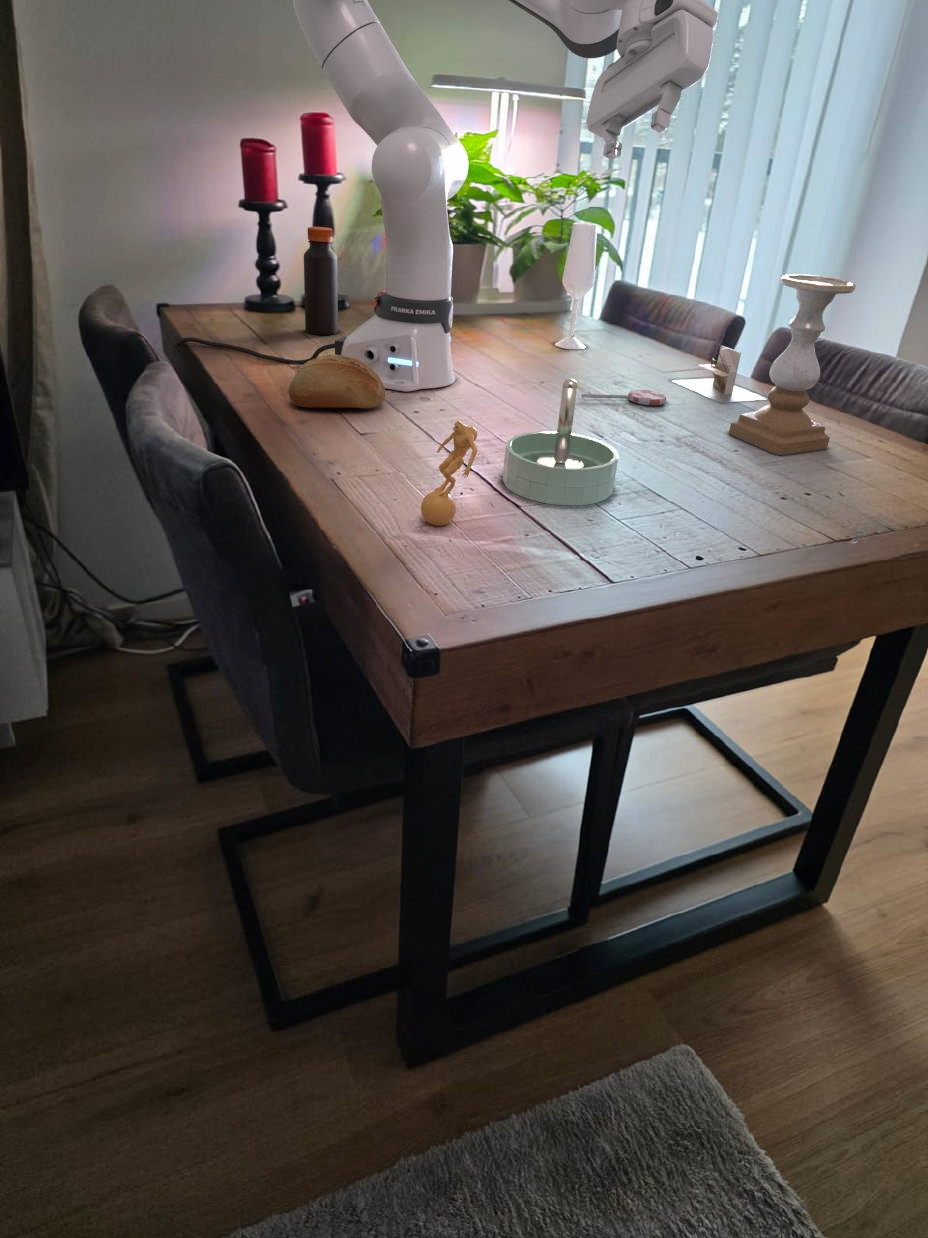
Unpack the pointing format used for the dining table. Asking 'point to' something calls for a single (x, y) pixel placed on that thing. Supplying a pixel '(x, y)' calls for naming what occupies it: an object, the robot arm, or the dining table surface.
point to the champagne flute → (579, 273)
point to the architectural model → (721, 380)
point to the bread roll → (336, 384)
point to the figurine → (439, 503)
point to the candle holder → (794, 375)
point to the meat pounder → (564, 430)
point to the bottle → (320, 283)
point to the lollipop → (636, 397)
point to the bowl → (559, 470)
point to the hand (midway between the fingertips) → (634, 142)
